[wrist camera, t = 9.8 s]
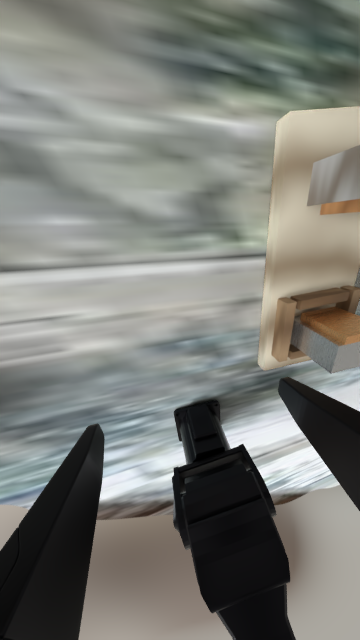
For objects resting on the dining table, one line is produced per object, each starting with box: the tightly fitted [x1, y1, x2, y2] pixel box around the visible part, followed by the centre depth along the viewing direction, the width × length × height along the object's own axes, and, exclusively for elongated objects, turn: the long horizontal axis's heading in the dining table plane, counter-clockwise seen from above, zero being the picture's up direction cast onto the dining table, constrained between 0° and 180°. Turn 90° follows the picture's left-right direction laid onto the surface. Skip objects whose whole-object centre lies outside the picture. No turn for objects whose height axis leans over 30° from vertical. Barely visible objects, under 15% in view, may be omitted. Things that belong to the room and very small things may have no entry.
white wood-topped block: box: [290, 307, 360, 373], centre depth 19 cm, size 4×5×6 cm
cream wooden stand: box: [258, 106, 360, 371], centre depth 17 cm, size 24×10×8 cm, turn 7°
